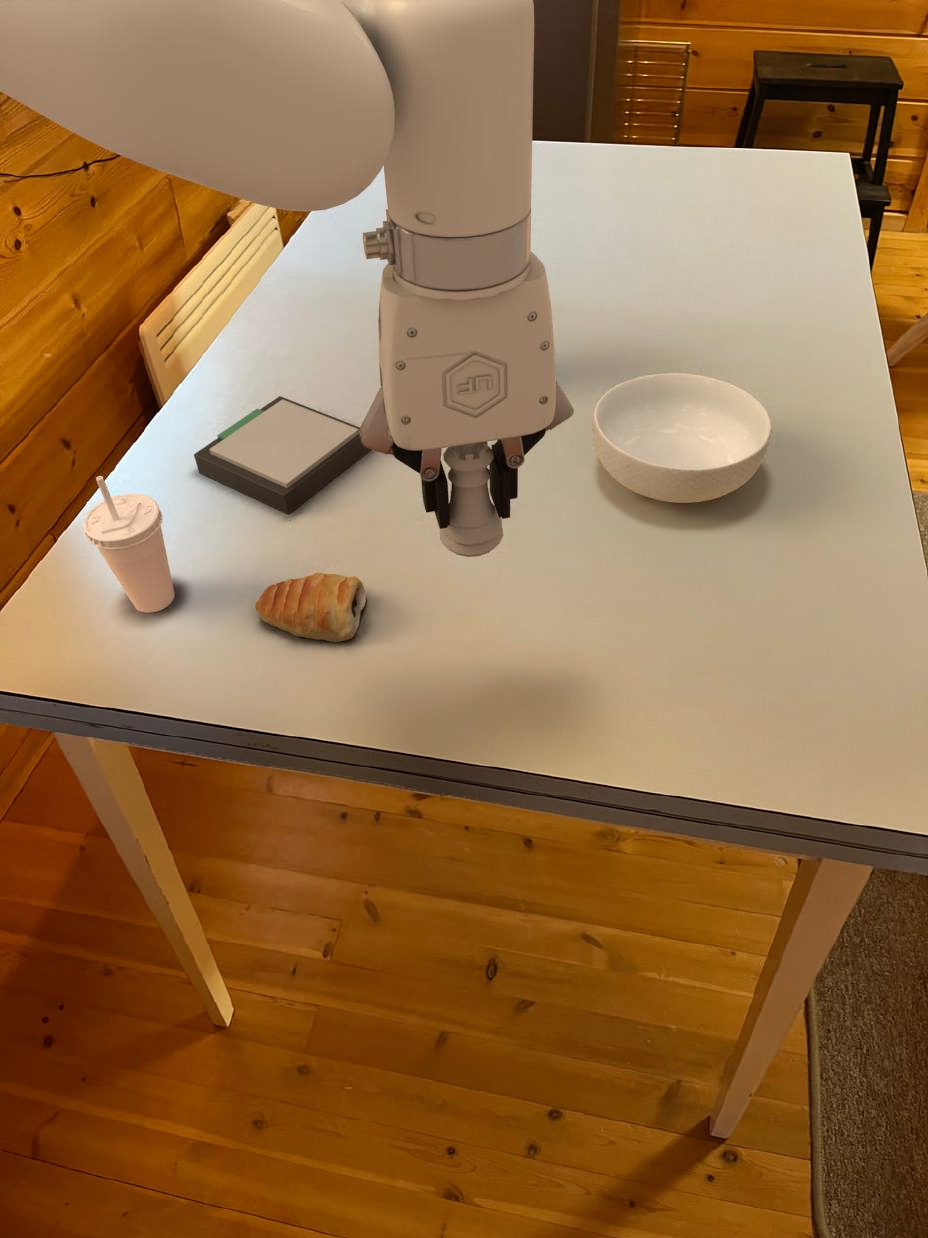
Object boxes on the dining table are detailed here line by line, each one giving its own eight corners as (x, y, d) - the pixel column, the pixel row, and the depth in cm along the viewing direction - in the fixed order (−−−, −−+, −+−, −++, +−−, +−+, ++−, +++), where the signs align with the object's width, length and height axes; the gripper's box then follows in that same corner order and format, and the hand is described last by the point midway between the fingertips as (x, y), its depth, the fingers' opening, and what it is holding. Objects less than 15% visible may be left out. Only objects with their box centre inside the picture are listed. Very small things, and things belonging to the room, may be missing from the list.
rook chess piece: (506, 520, 66) (506, 425, 60) (499, 562, 63) (499, 465, 57) (444, 516, 66) (439, 421, 61) (434, 557, 63) (427, 461, 58)
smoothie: (103, 610, 84) (46, 486, 74) (150, 566, 88) (102, 443, 78) (157, 632, 82) (106, 507, 72) (203, 586, 85) (161, 462, 75)
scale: (199, 473, 98) (191, 449, 96) (283, 414, 105) (278, 390, 103) (288, 514, 92) (283, 490, 90) (371, 449, 99) (368, 425, 97)
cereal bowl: (795, 496, 90) (811, 435, 85) (650, 551, 86) (658, 490, 81) (692, 412, 101) (701, 353, 96) (559, 456, 97) (561, 397, 92)
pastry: (250, 641, 80) (241, 609, 78) (270, 587, 85) (262, 556, 82) (356, 646, 79) (350, 614, 77) (371, 591, 84) (365, 560, 81)
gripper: (313, 294, 46) (356, 567, 59) (630, 253, 48) (604, 526, 61) (301, 233, 51) (343, 496, 65) (587, 199, 53) (572, 461, 67)
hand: (470, 508), depth 63 cm, fingers closed on rook chess piece, 3 cm apart
